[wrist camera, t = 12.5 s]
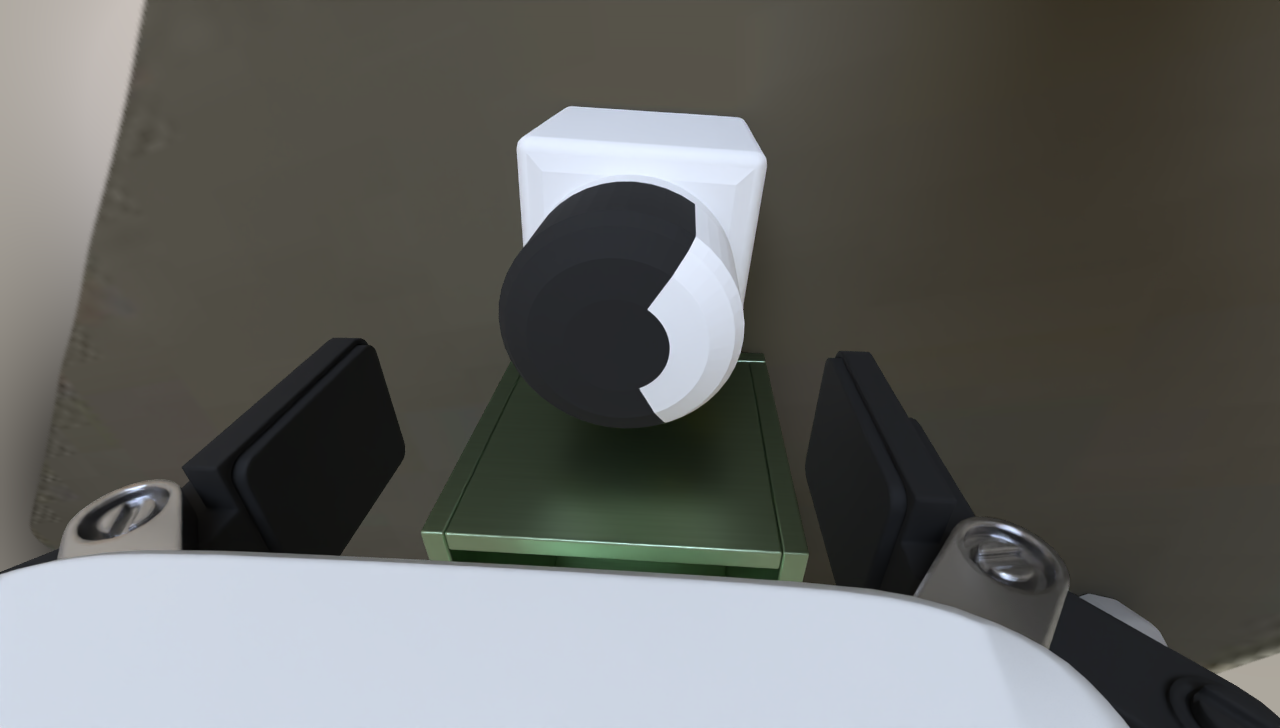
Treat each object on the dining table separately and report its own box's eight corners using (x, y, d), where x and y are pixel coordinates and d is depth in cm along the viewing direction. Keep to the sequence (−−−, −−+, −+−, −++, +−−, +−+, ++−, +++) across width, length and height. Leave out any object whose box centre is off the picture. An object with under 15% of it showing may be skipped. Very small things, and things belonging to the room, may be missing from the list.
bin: (518, 345, 27) (418, 532, 17) (763, 352, 26) (809, 555, 16) (549, 549, 35) (494, 754, 25) (736, 560, 34) (755, 777, 25)
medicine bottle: (567, 275, 25) (482, 449, 15) (563, 104, 21) (444, 180, 11) (722, 287, 24) (745, 473, 14) (747, 116, 21) (802, 206, 10)
